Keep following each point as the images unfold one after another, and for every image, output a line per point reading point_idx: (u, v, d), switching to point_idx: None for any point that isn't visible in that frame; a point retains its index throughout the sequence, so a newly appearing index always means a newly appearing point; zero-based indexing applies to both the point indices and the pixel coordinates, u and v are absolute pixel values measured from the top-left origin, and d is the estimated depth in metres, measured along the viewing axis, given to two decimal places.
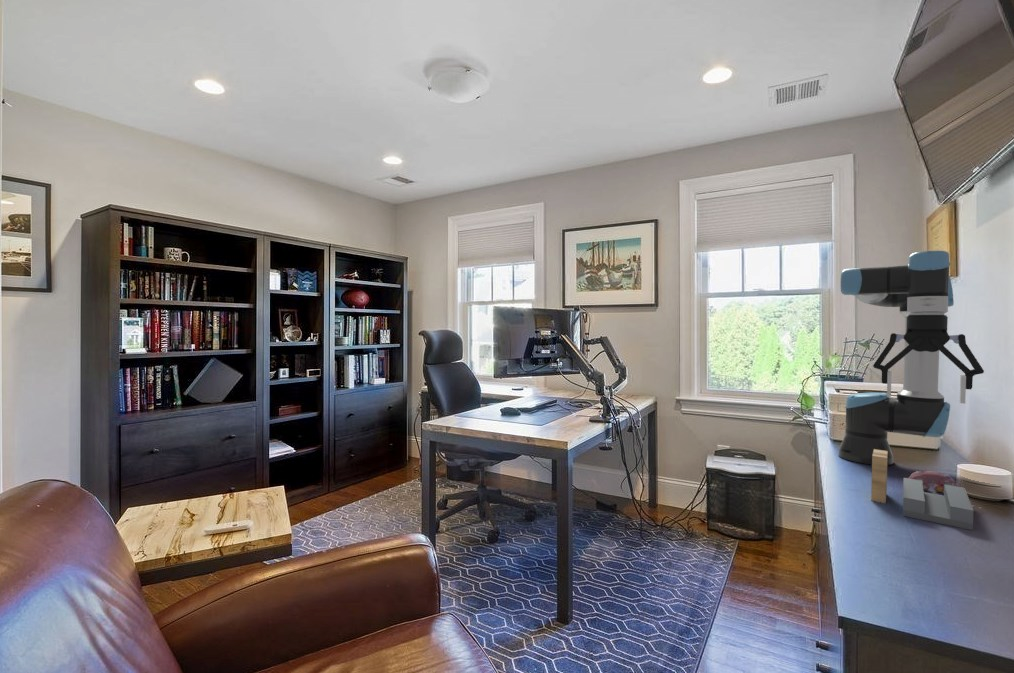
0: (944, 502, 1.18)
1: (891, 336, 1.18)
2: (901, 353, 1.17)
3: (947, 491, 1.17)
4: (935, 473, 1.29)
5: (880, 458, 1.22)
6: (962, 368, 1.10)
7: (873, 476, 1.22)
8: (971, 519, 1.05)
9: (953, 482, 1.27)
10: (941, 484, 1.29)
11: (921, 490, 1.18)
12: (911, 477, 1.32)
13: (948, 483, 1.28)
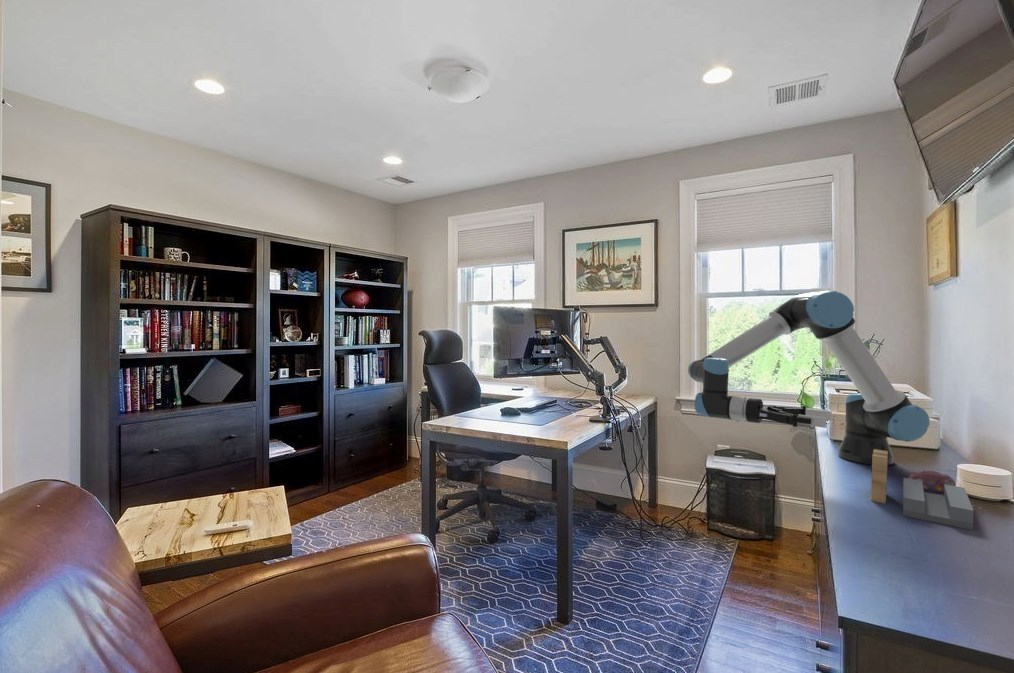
0: (944, 502, 1.18)
1: None
2: None
3: (947, 491, 1.17)
4: (934, 473, 1.29)
5: (880, 458, 1.22)
6: None
7: (873, 476, 1.22)
8: (971, 519, 1.05)
9: (952, 482, 1.27)
10: (941, 483, 1.29)
11: (921, 490, 1.18)
12: (911, 477, 1.32)
13: (947, 483, 1.28)
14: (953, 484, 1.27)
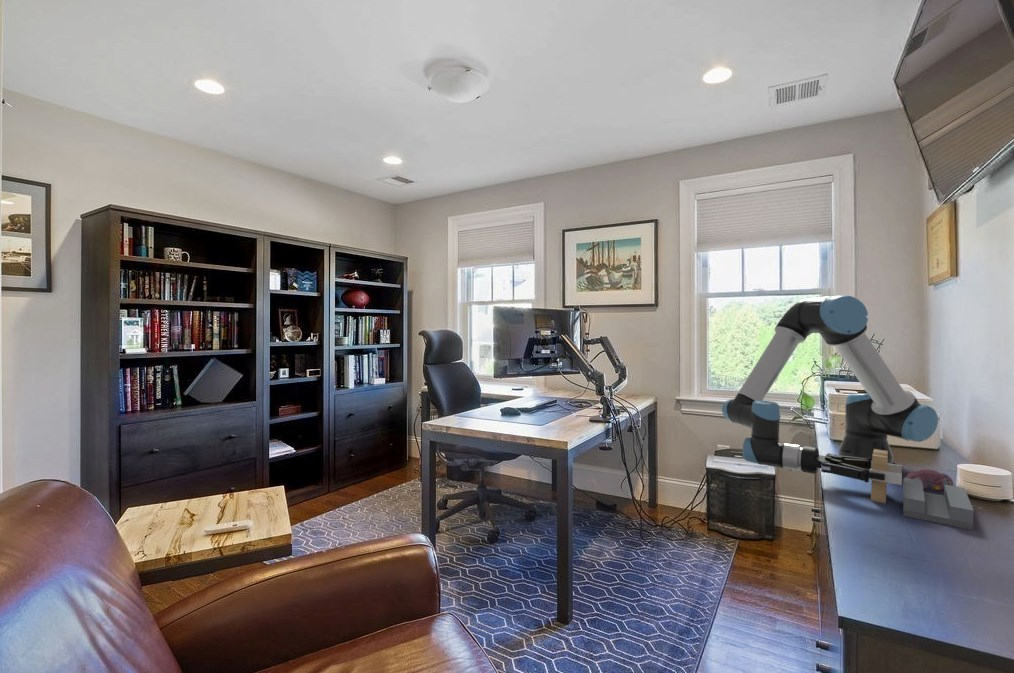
0: (944, 502, 1.18)
1: None
2: None
3: (947, 491, 1.17)
4: (933, 472, 1.30)
5: (880, 458, 1.22)
6: None
7: None
8: (971, 519, 1.05)
9: (950, 480, 1.28)
10: (939, 482, 1.30)
11: (921, 490, 1.18)
12: (909, 476, 1.33)
13: (945, 481, 1.29)
14: (951, 483, 1.29)
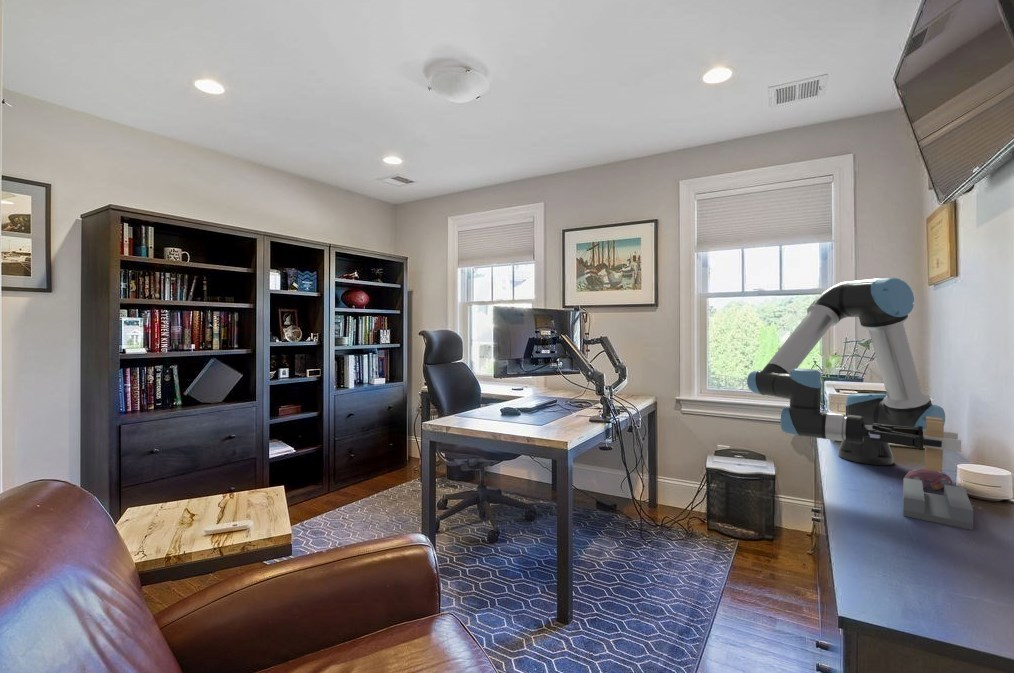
0: (944, 502, 1.18)
1: None
2: None
3: (947, 491, 1.17)
4: (932, 471, 1.31)
5: (936, 423, 1.13)
6: None
7: None
8: (971, 519, 1.05)
9: (949, 480, 1.29)
10: (938, 481, 1.30)
11: (921, 490, 1.18)
12: (908, 475, 1.34)
13: (944, 481, 1.29)
14: (950, 482, 1.29)
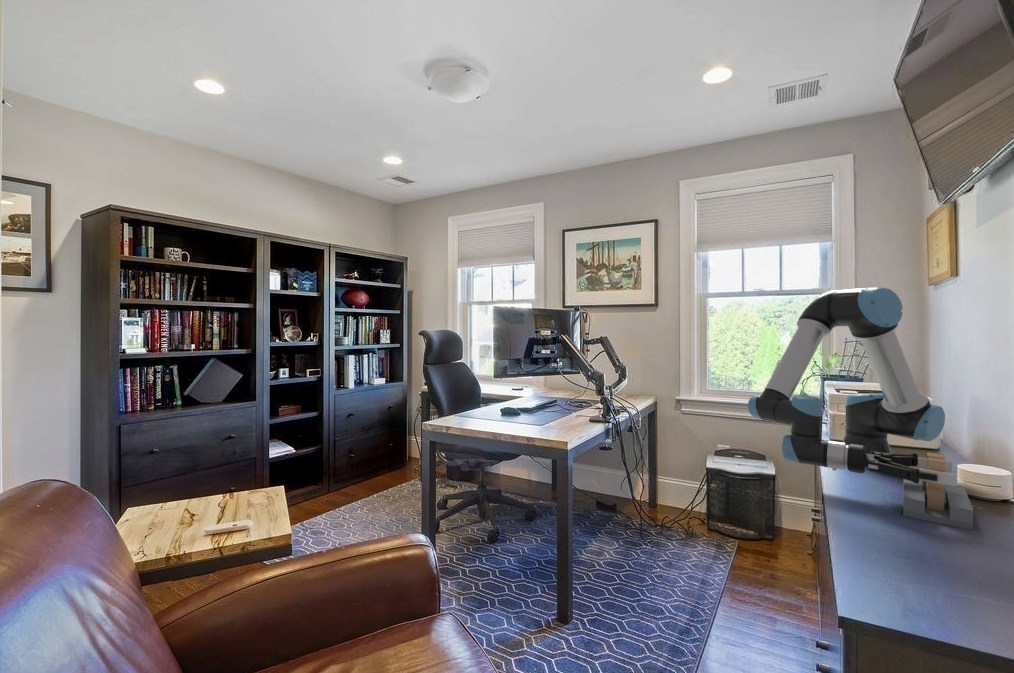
0: (944, 502, 1.18)
1: None
2: None
3: (947, 491, 1.17)
4: None
5: (937, 462, 1.13)
6: None
7: None
8: (971, 519, 1.05)
9: None
10: None
11: (921, 490, 1.18)
12: None
13: None
14: None
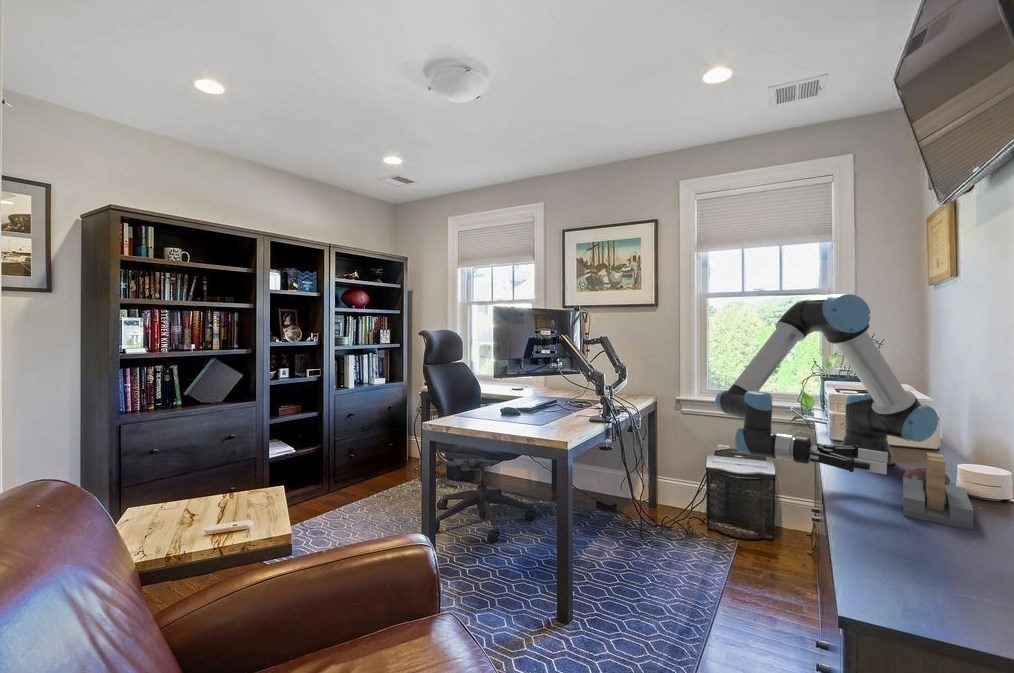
0: (944, 502, 1.18)
1: None
2: None
3: (947, 491, 1.17)
4: None
5: (937, 462, 1.13)
6: None
7: (929, 481, 1.14)
8: (971, 519, 1.05)
9: (947, 478, 1.30)
10: None
11: (921, 490, 1.18)
12: (906, 474, 1.35)
13: None
14: (948, 481, 1.30)
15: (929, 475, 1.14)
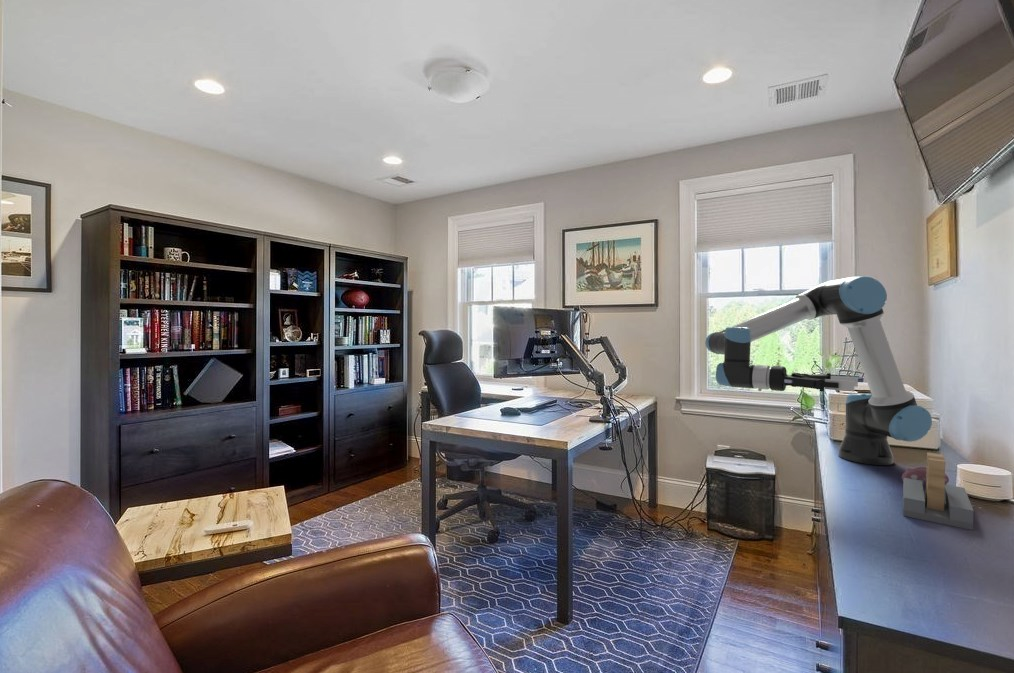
0: (944, 502, 1.18)
1: None
2: None
3: (947, 491, 1.17)
4: None
5: (937, 462, 1.13)
6: None
7: (929, 481, 1.14)
8: (971, 519, 1.05)
9: (946, 478, 1.31)
10: None
11: (921, 490, 1.18)
12: (906, 473, 1.36)
13: None
14: (947, 480, 1.31)
15: (929, 475, 1.14)
